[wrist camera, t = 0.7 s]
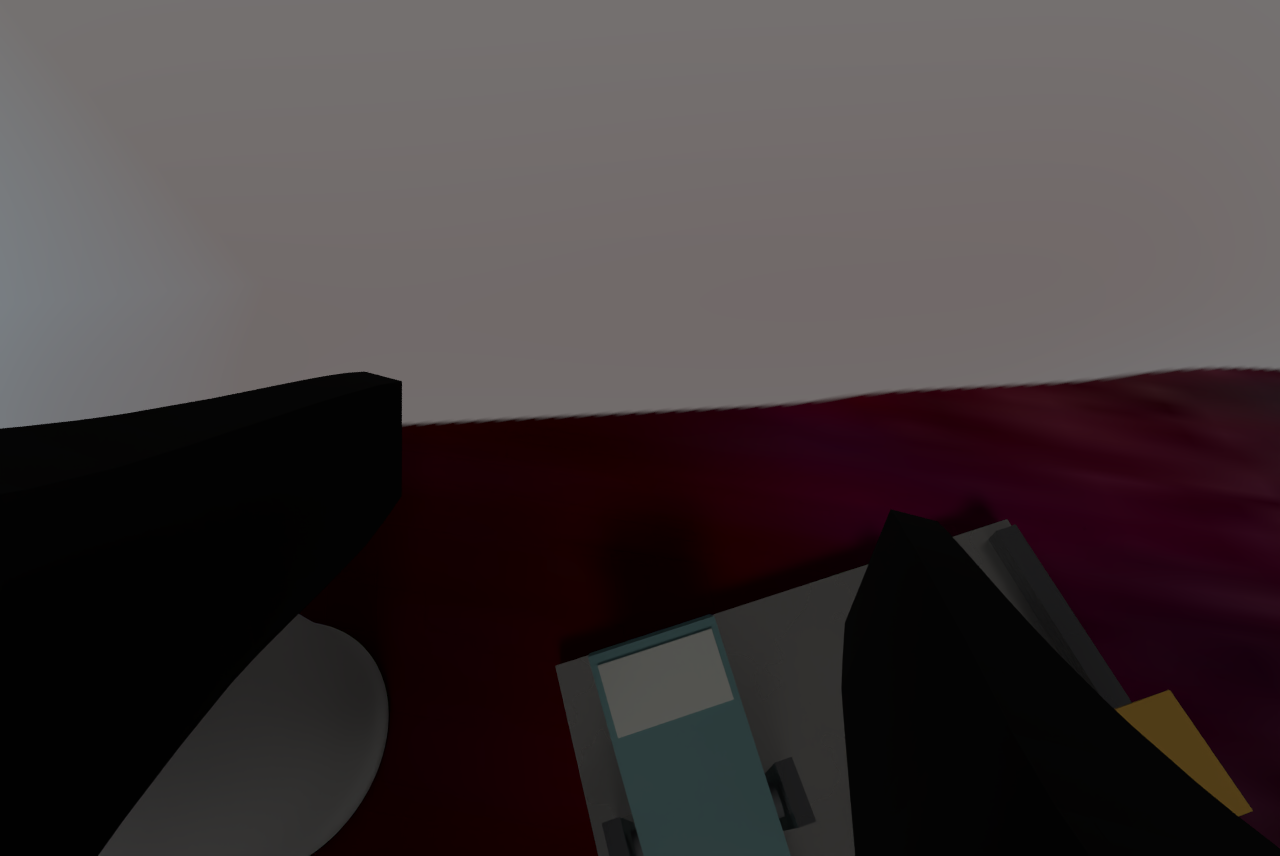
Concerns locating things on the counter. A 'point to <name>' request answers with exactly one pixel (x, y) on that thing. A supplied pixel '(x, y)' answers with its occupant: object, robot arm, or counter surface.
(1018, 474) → the counter surface
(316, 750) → the mug
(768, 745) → the panel
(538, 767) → the counter surface
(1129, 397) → the counter surface
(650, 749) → the teal tile with stripe
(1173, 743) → the slider knob
